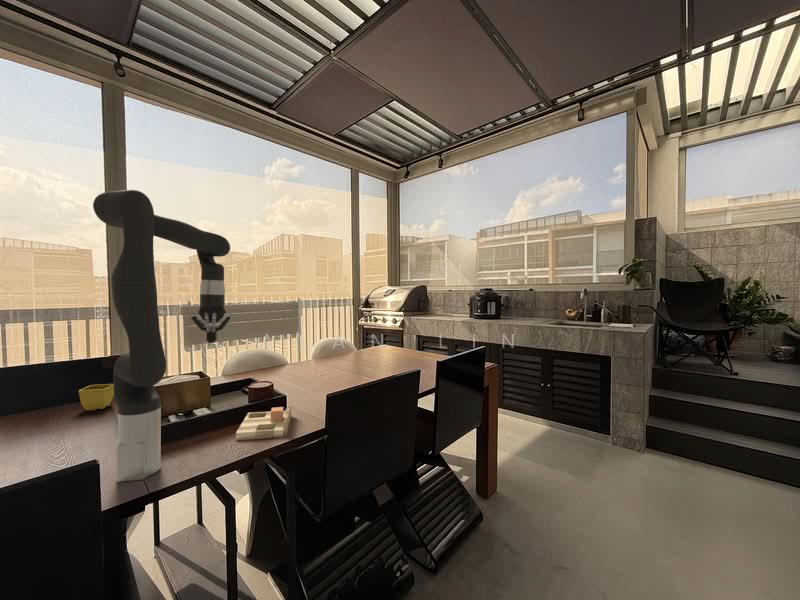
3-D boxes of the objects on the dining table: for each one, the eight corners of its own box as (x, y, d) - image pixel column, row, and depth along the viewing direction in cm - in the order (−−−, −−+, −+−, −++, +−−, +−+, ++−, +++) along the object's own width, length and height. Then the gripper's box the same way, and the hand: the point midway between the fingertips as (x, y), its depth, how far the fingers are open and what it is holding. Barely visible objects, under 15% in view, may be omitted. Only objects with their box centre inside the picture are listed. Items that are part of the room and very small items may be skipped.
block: (282, 421, 122) (282, 410, 122) (270, 422, 121) (270, 411, 121) (283, 417, 126) (283, 407, 126) (272, 418, 125) (272, 407, 125)
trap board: (286, 436, 115) (286, 422, 115) (235, 440, 112) (236, 425, 111) (291, 416, 134) (291, 404, 134) (248, 419, 130) (248, 406, 130)
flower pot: (90, 405, 141) (90, 384, 141) (115, 404, 144) (115, 383, 144) (78, 413, 133) (78, 390, 132) (104, 411, 135) (104, 389, 135)
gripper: (187, 292, 112) (186, 344, 112) (230, 293, 115) (229, 344, 115) (195, 292, 119) (194, 341, 119) (235, 293, 122) (234, 341, 122)
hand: (211, 342), depth 117 cm, fingers closed
